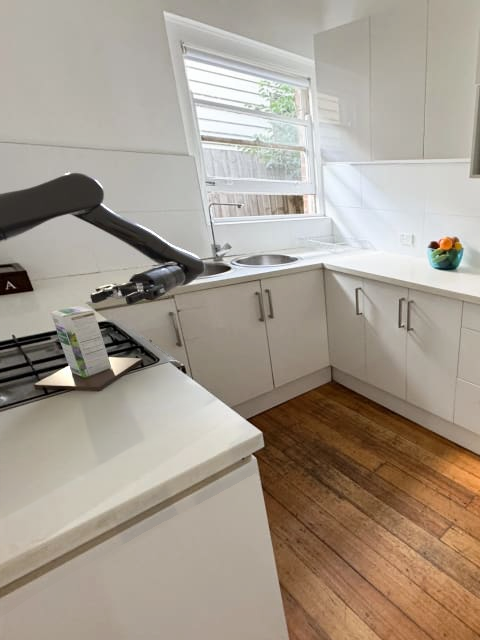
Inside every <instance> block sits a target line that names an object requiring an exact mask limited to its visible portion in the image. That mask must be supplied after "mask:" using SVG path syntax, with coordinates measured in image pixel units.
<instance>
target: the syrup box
mask: <svg viewBox="0 0 480 640" xmlns="http://www.w3.org/2000/svg"><path fill="white" fill-rule="evenodd" d="M50 317H51V319H52V322H53V324H54V328H55V330H56V333H57V337H58V339H59V342H60V345H61V348H62V351H63V353H64V356H65V359H66V362H67V365H68V366H69V367H70V370H71V372H72V373H75V374H77V375H79V376H82V377H84V378H86V377H89V376H91V375H94V374H97V373H99V372H102V371H104V370H107V369H109V368H111V364H110V361H109V358H108V357H109V355H108V352H107V348H106V346H105V342H104V339H103V336H102V335H103V334H102V333H101V328H100V326H99V323H98V319H97V315H96V312H95V310H94V309H90V308H86V307H83V306H80V305H78V306H71V307H66V308H61V309H58V310H54V311H51V312H50Z"/></svg>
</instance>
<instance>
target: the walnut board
mask: <svg viewBox="0 0 480 640" xmlns="http://www.w3.org/2000/svg"><path fill="white" fill-rule="evenodd" d="M108 358H109V361H110V364H111V368H109V369H107V370H104V371H102V372H99V373H97V374H94V375H91V376H89V377H86V378H84V377H82V376H79V375H77V374H75V373H72V372H71V370H70V367H69V365H68V366H65V367H64V368H62V369H60V370H58V371H56V372H54V373H52V374H50V375H48V376H47V377H45V378H43V379H40V380H39V381H38V382H36V383H34V384H33V388H34V389H35V390H44V389H43V386H44V387H45V388H46V389H45V390H58V391H59V390H60V389H75V390H74V391H86V390H87V391H88V390H89V392H91V391H92V392H100V391H103V390H104V389H105V388H107V387H109V385H111V384H113V383H114V382H116V381H117V380H119V379H120V378H121V377H123V376H125V375H126V374H127V373H129V372H130V371H132V370H134V369H135V368H137V367H138V366H140V365H141V364H142V363H144V359H143V358H141V357H119V356H118V357H114V356H108ZM128 371H129V372H128ZM126 372H127V373H126ZM125 373H126V374H125Z"/></svg>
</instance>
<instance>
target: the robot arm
mask: <svg viewBox="0 0 480 640" xmlns="http://www.w3.org/2000/svg"><path fill="white" fill-rule="evenodd" d="M104 200H105V192H104V188H103V186H102V185H101V183H100V182H99V181H98V180H97V179H95V178H94V177H92V176H90V175H88V174H85V173H81V172H68V173H65V174H62V175H60V176H58V177H55V178H53V179H51V180H48V181H44V182H43V183H40V184H37V185H34V186H31V187H28V188H24V189H17V190H13V191H7V192H2V193H0V243H3V242H6V241H9V240H11V239H14V238H16V237H18V236H20V235H23V234H24V233H27V232H29V231H31V230H32V229H35V228H37V227H39V226H40V225H42V224H45V223H46V222H48V221H51V220H53V219H56V218H59V217H63V216H67V215H70V216H73V217H75V218H77V219H79V220H80V221H82V222H84V223H85V222H86V223H88V224H90V225H92V227H93V226H94V227H95V228H98V229H99V230H101V231H102V232H104V233H107V234H109V235H111V236H112V237H113V238H116V239H117V240H119V241H121V242H123V244H126V245H128V246H129V247H131V248H132V249H134V250H136V251H137V252H139V253H140V254H142V255H143V256H144V257H146V258H148V259H150V261H153V262H154V263H156V264H158V265H160V266H157V267H151V268H148V269H146V270H143V271H140V272H137V273H134V274H132V276H130V279H129V281H125V282H123V283H119V284H118V283H117V282H112V283H108V284H105V285H102V286H99V287H96V288H95V292H93V293H91V294H90V295H89V297H90V300H91V302H92V303H93V304H98V303H100V302H103V301H106V300H110V299H116V300H121V299H125V302H126V305H134V304H136V303H138V302H144V301H155V300H156V299H158V298H160V297H162V296H164V295H166V294H167V293H169V292H171V291H172V290H174V289H176V288H180V287H185V286H187V285H189V284H191V283H192V282H193V281H194V280H196V279H197V278H198V277H201V276H202V275H203V274H204V273H205V272H206V265H205V263H204V261H203V260H202V259H201V258H200V257H199V256H197V255H196V254H195V253H192V252H190V251H187V250H184V249H183V248H180V247H177V246H175V245H172V244H171V243H169V242H168V241H167V240H165V239H163V238H162V237H161V236H159V235H158V234H156V233H155V232H153V231H152V230H151V229H148V228H146V227H145V226H142V225H140V224H138V223H136V222H133V221H131V220H129V219H127V218H125V217H122V216H121V215H119V214H117V213H115V212H114V211H112V210H111V209H109V207H106V206H105V205H104V204H102V203H103V202H104ZM119 293H120V295H119Z"/></svg>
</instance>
